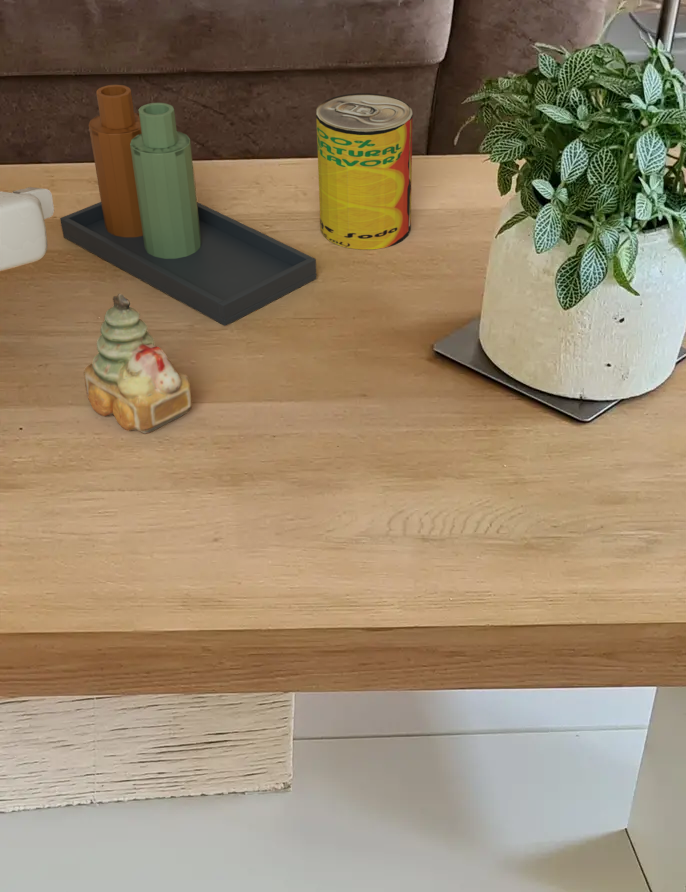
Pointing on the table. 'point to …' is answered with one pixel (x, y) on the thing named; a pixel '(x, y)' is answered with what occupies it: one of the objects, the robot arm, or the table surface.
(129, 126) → the amber bottle
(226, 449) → the table surface
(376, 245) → the beverage can
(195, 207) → the green bottle
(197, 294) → the tray
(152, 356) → the ornament
